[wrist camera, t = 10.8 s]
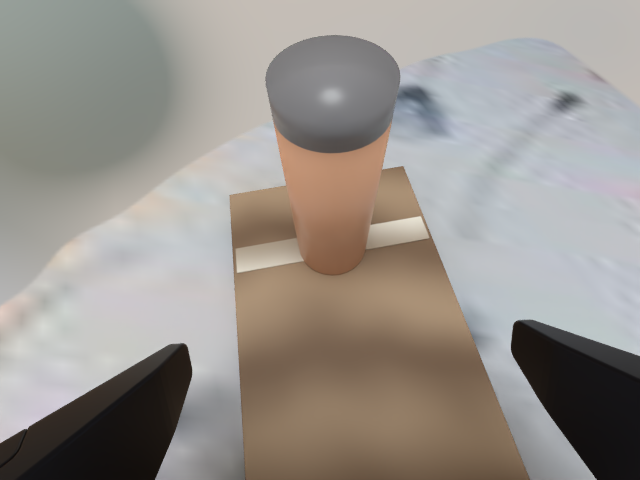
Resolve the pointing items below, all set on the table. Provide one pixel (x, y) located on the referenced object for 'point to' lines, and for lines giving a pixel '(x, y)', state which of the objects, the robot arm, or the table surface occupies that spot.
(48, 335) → the table surface
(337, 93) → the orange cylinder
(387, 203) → the board
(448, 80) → the table surface
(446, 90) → the table surface
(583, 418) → the robot arm
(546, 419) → the table surface
